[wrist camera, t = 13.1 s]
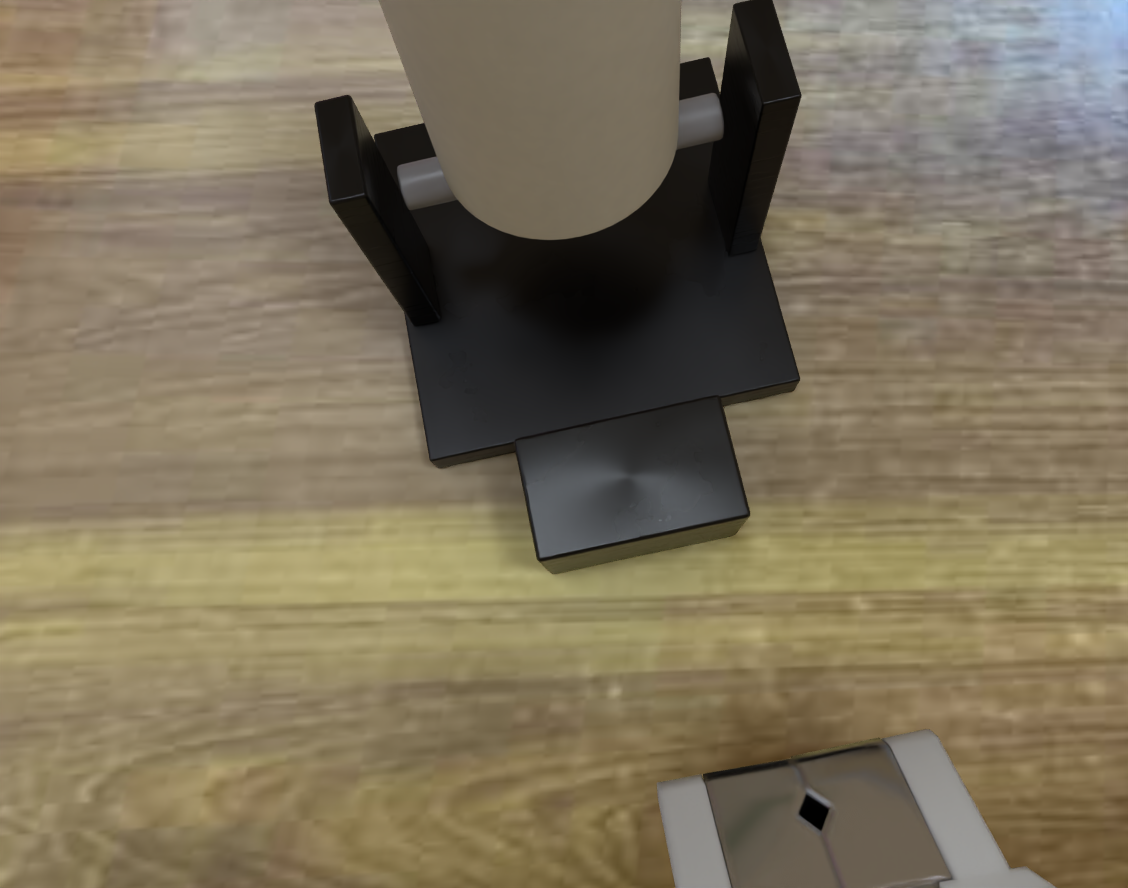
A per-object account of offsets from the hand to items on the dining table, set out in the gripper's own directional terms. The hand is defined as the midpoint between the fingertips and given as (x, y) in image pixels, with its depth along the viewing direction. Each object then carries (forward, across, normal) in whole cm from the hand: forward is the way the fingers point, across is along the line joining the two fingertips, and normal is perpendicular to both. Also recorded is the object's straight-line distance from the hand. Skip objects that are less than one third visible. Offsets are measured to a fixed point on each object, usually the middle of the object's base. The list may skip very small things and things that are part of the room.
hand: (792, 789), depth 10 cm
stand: (+17, +1, +2) cm, 17 cm away
